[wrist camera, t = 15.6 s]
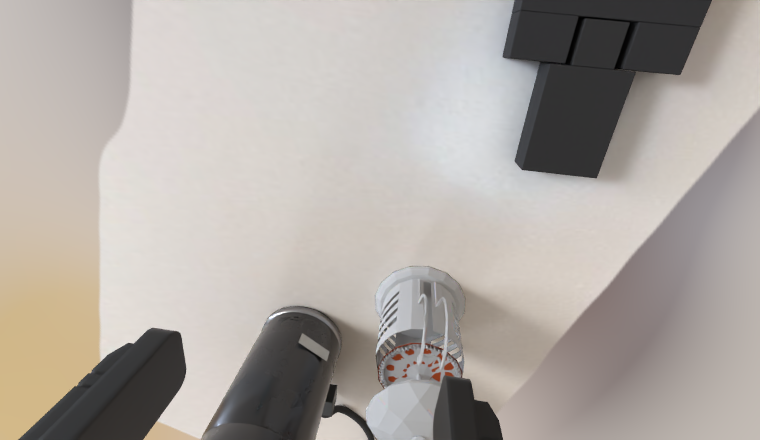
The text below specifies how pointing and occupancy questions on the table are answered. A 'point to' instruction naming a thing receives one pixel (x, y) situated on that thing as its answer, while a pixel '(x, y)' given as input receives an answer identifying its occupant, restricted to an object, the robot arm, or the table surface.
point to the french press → (414, 350)
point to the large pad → (616, 3)
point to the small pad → (576, 103)
